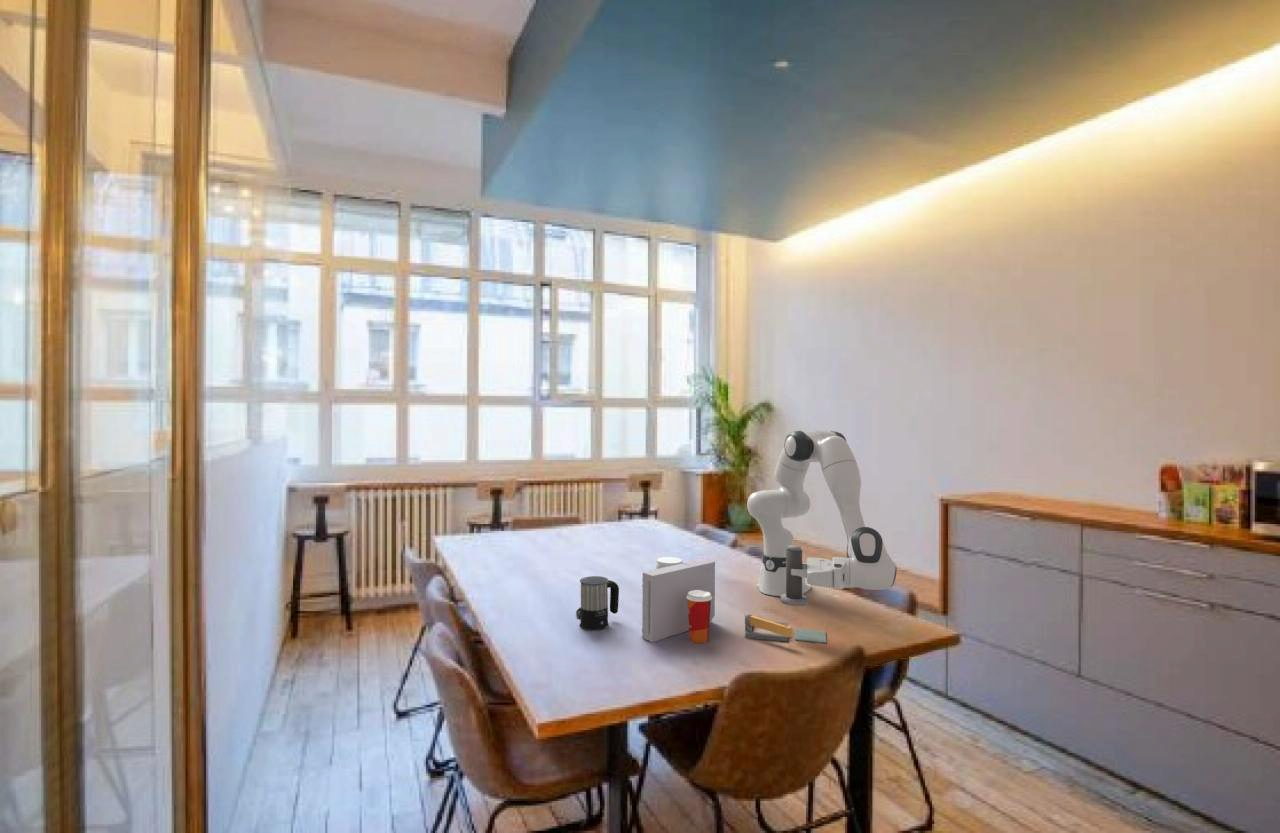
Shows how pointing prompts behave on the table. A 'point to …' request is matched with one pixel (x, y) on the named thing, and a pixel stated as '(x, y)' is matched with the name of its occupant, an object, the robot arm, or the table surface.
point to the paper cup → (699, 615)
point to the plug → (793, 578)
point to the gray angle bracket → (767, 635)
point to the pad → (810, 635)
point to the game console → (673, 597)
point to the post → (748, 628)
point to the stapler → (768, 625)
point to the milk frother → (597, 602)
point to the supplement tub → (667, 562)
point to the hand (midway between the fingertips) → (791, 569)
